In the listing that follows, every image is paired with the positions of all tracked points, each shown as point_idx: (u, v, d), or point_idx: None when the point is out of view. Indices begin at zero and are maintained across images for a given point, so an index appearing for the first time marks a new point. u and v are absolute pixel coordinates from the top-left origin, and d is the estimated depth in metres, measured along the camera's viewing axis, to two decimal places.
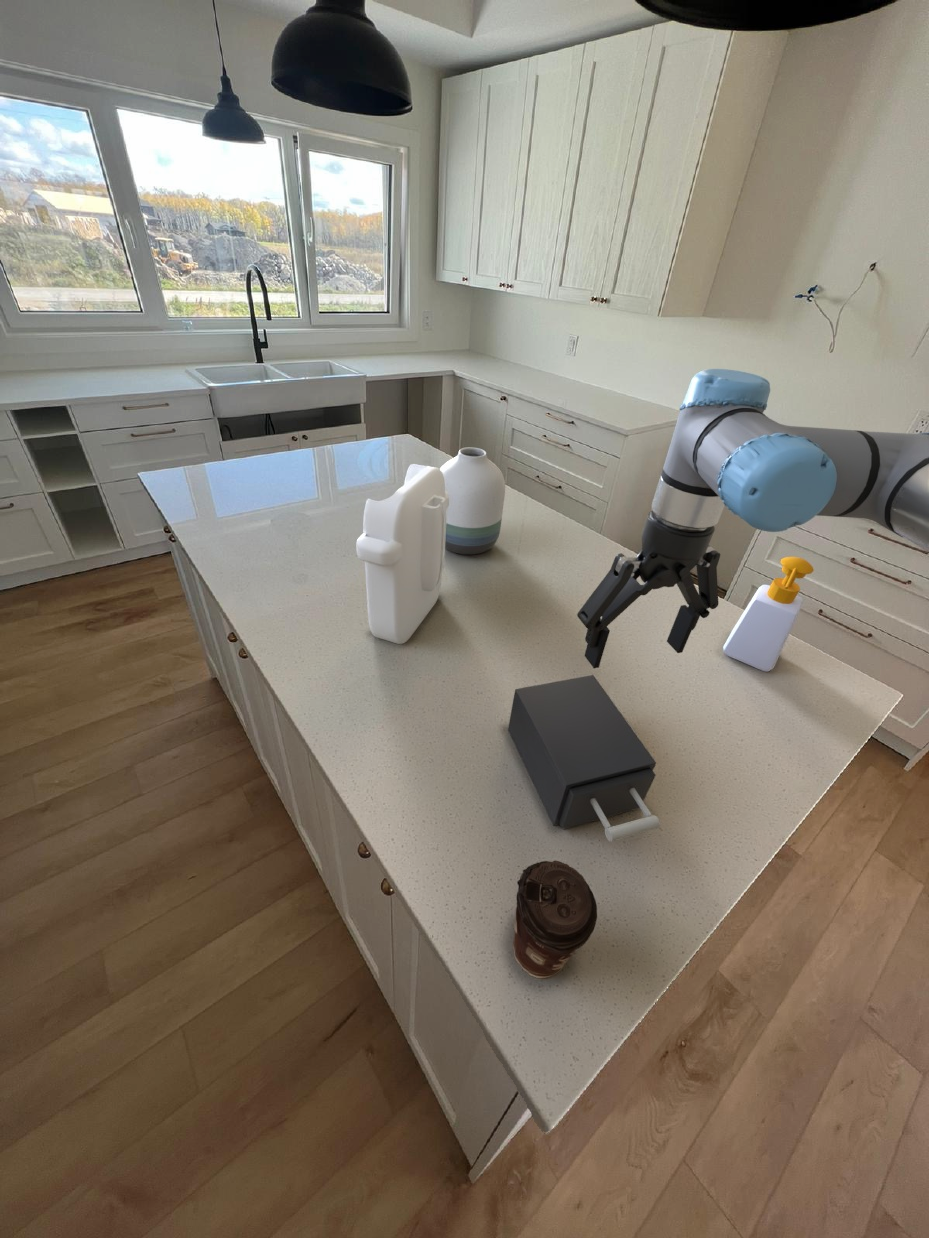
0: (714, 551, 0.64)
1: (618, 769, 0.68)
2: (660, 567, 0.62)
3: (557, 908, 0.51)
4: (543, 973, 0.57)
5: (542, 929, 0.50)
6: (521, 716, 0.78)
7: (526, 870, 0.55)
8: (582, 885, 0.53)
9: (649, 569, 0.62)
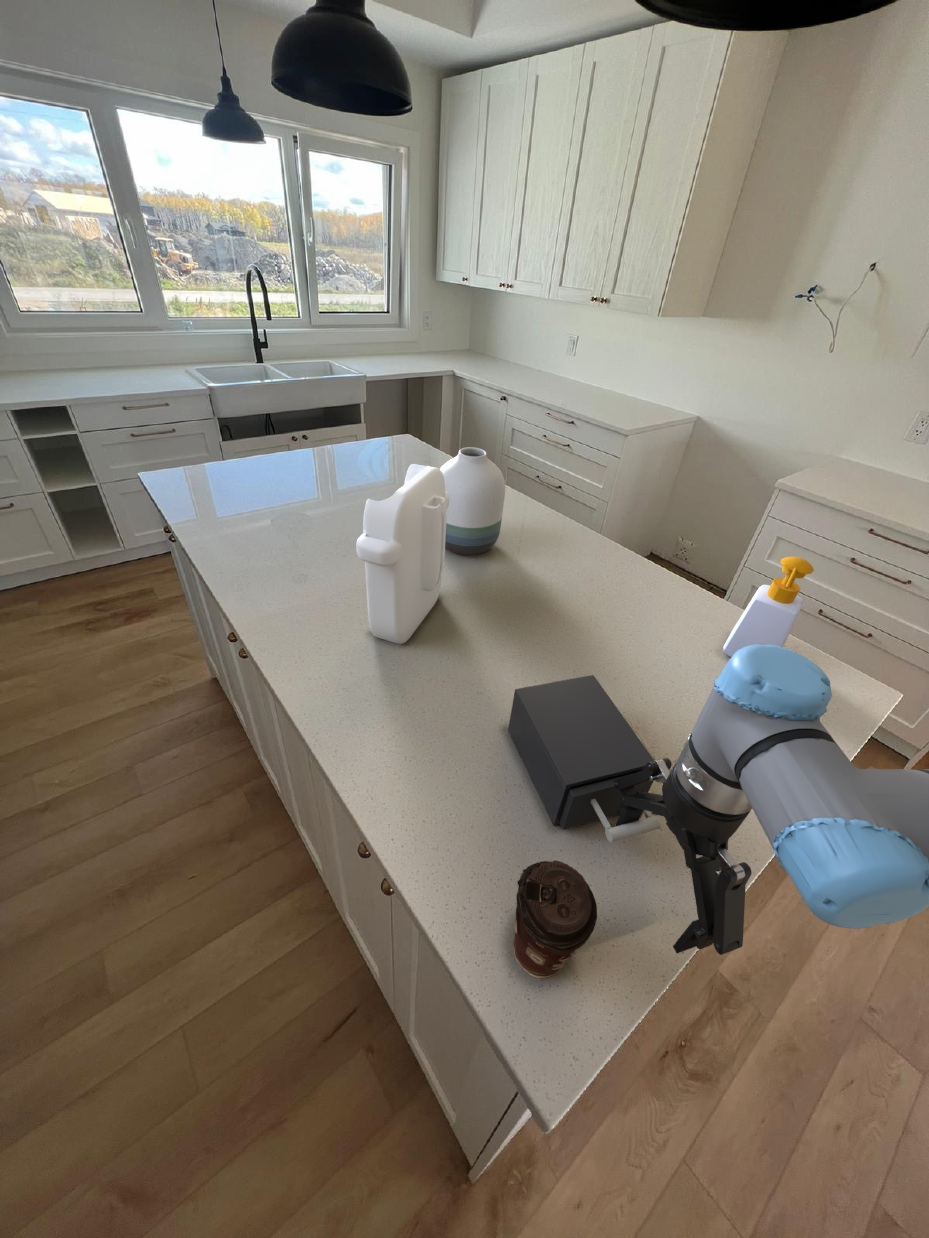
0: (666, 761, 0.57)
1: (618, 769, 0.68)
2: None
3: (557, 908, 0.51)
4: (543, 973, 0.57)
5: (542, 929, 0.50)
6: (521, 716, 0.78)
7: (526, 870, 0.55)
8: (582, 885, 0.53)
9: None
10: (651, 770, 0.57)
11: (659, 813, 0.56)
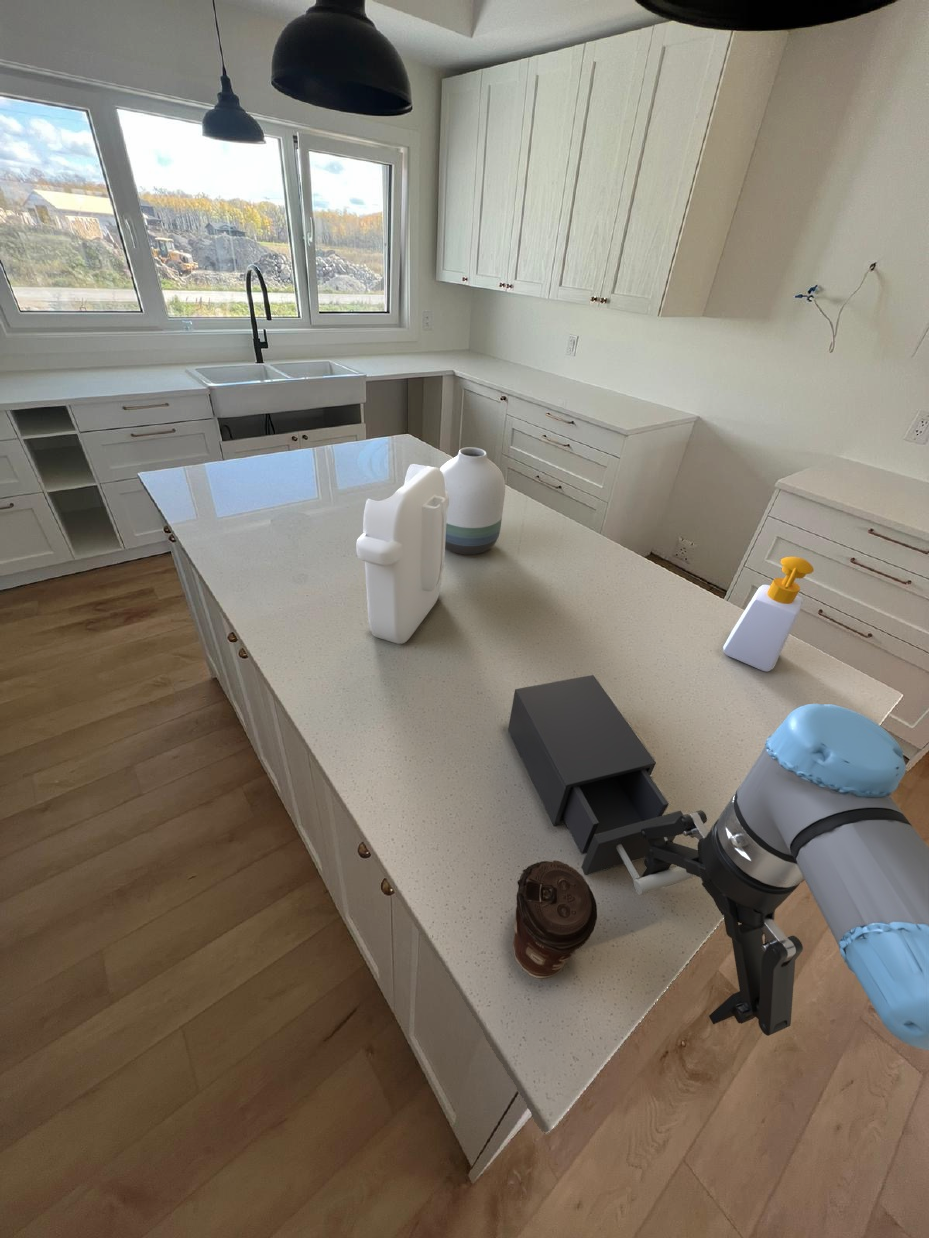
0: (701, 815, 0.53)
1: (618, 769, 0.68)
2: None
3: (557, 908, 0.51)
4: (543, 973, 0.57)
5: (542, 929, 0.50)
6: (521, 716, 0.78)
7: (526, 870, 0.55)
8: (582, 885, 0.53)
9: None
10: (685, 825, 0.53)
11: (694, 873, 0.52)
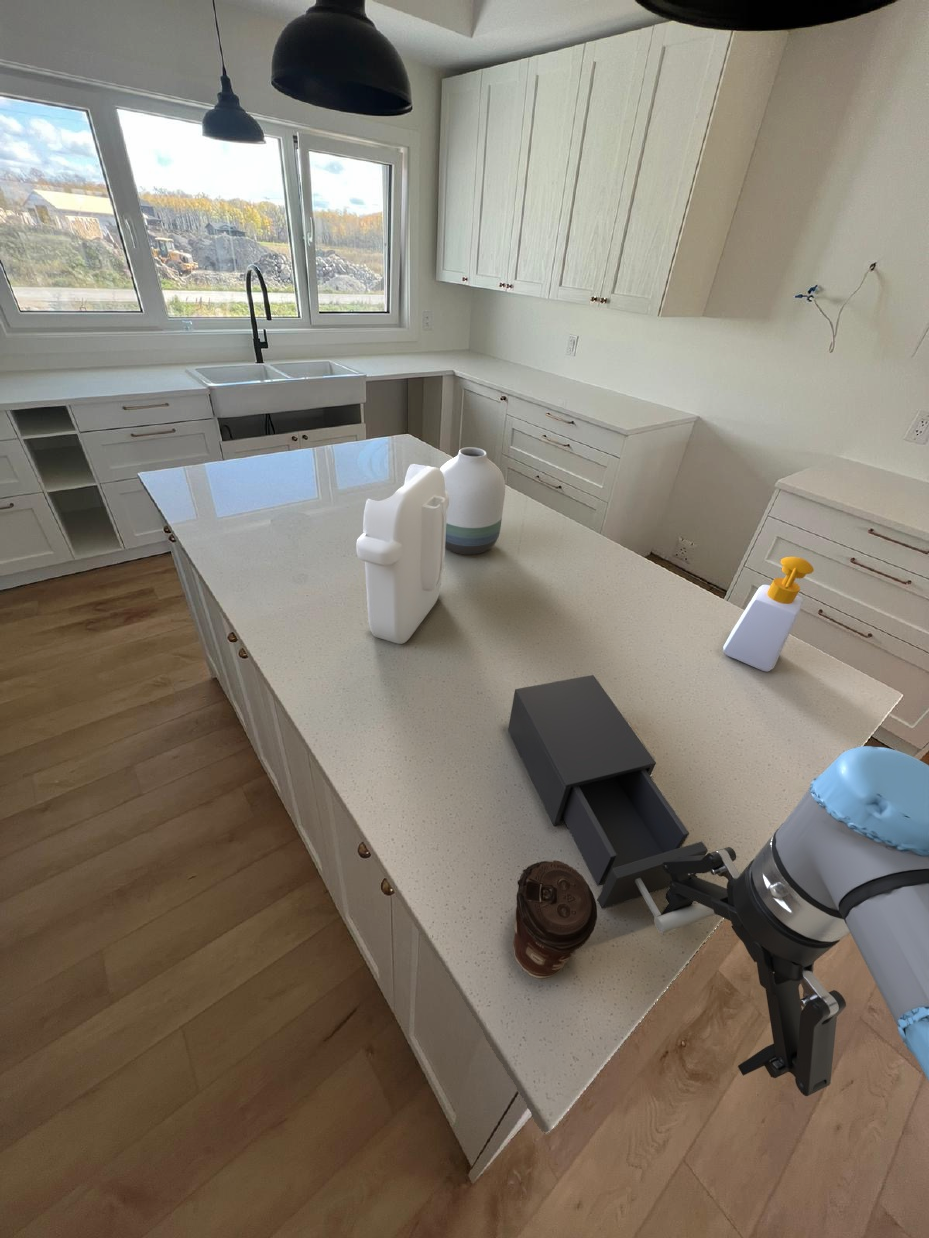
0: (730, 852, 0.50)
1: (618, 769, 0.68)
2: None
3: (557, 908, 0.51)
4: (543, 973, 0.57)
5: (542, 929, 0.50)
6: (521, 716, 0.78)
7: (526, 870, 0.55)
8: (582, 885, 0.53)
9: None
10: (713, 863, 0.49)
11: (724, 915, 0.48)
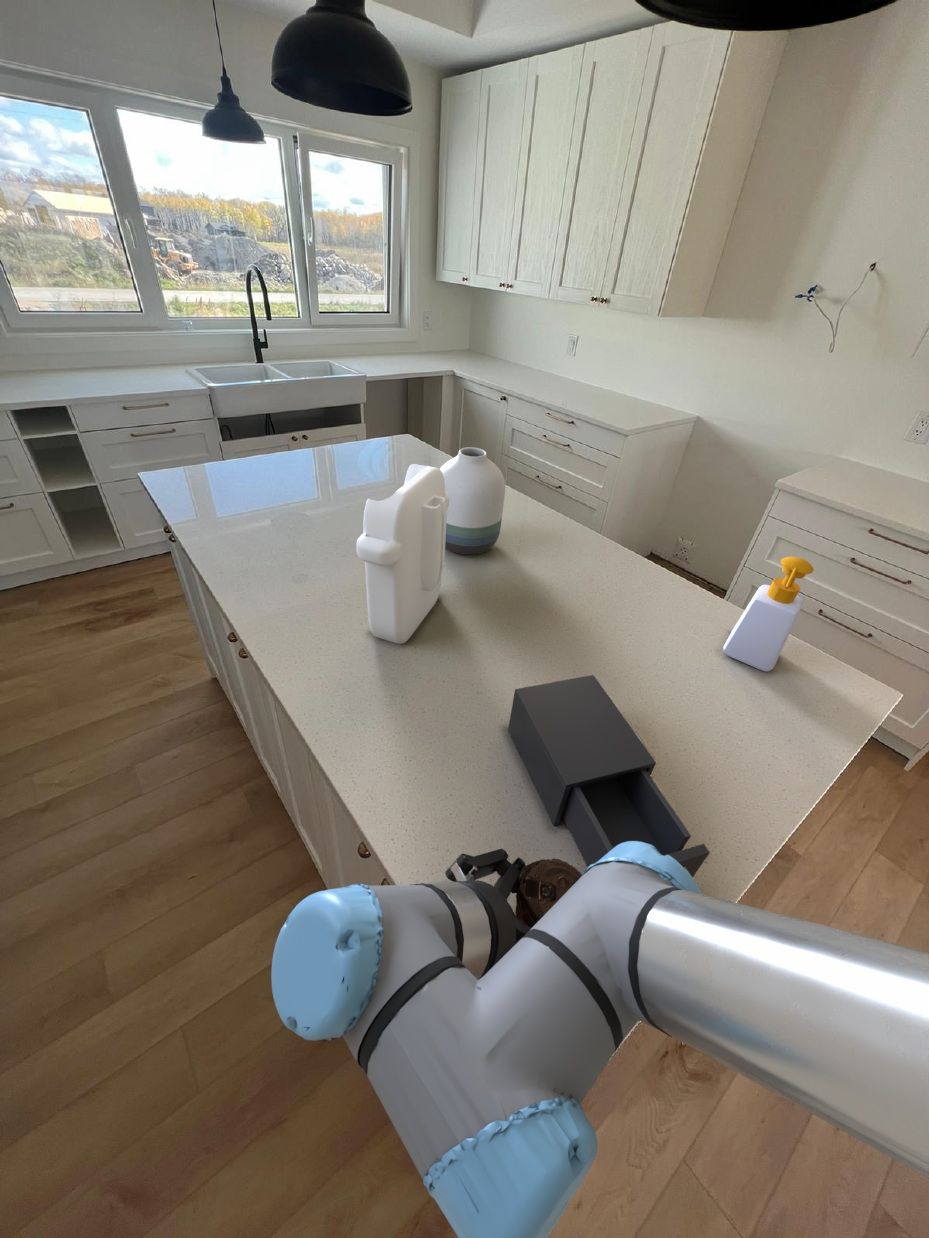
0: (459, 861, 0.49)
1: (618, 769, 0.68)
2: None
3: None
4: None
5: None
6: (521, 716, 0.78)
7: (525, 868, 0.55)
8: None
9: None
10: (451, 879, 0.50)
11: None
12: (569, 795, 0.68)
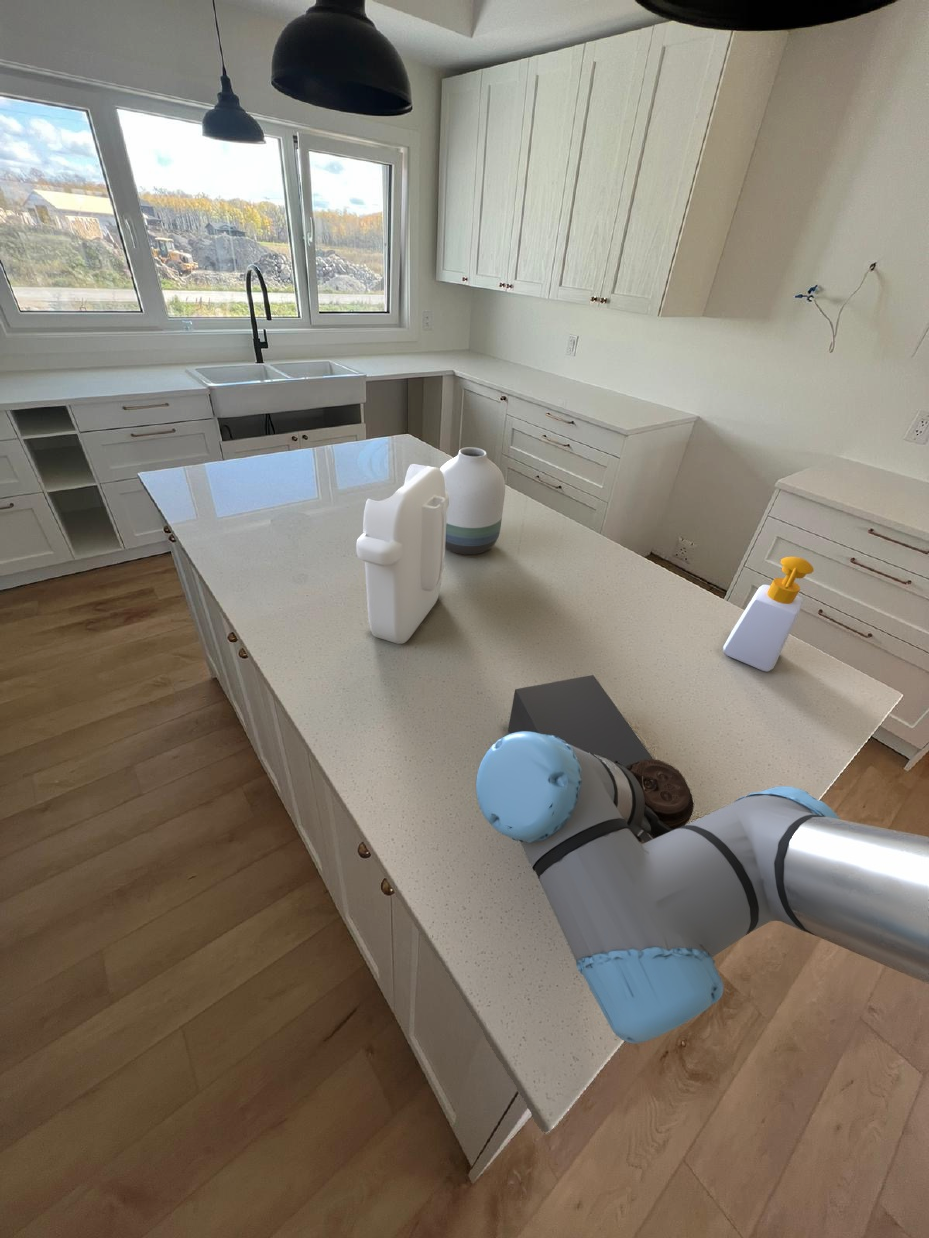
0: None
1: None
2: None
3: (660, 794, 0.57)
4: None
5: None
6: (521, 716, 0.78)
7: (626, 768, 0.61)
8: (679, 777, 0.59)
9: (645, 820, 0.50)
10: None
11: None
12: None
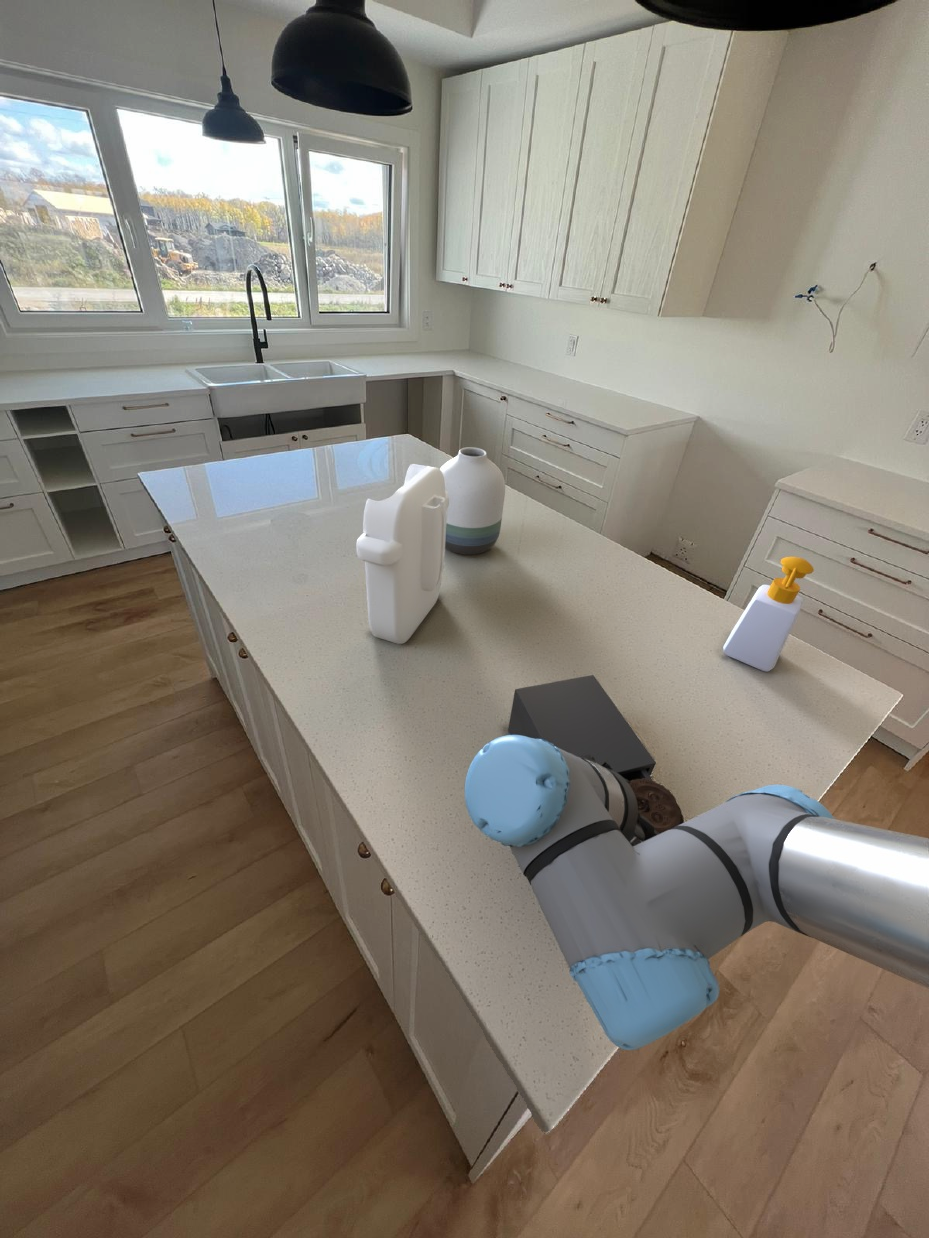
0: None
1: (618, 769, 0.68)
2: None
3: (651, 815, 0.57)
4: None
5: None
6: (521, 716, 0.78)
7: None
8: (670, 797, 0.59)
9: (639, 827, 0.49)
10: None
11: None
12: None
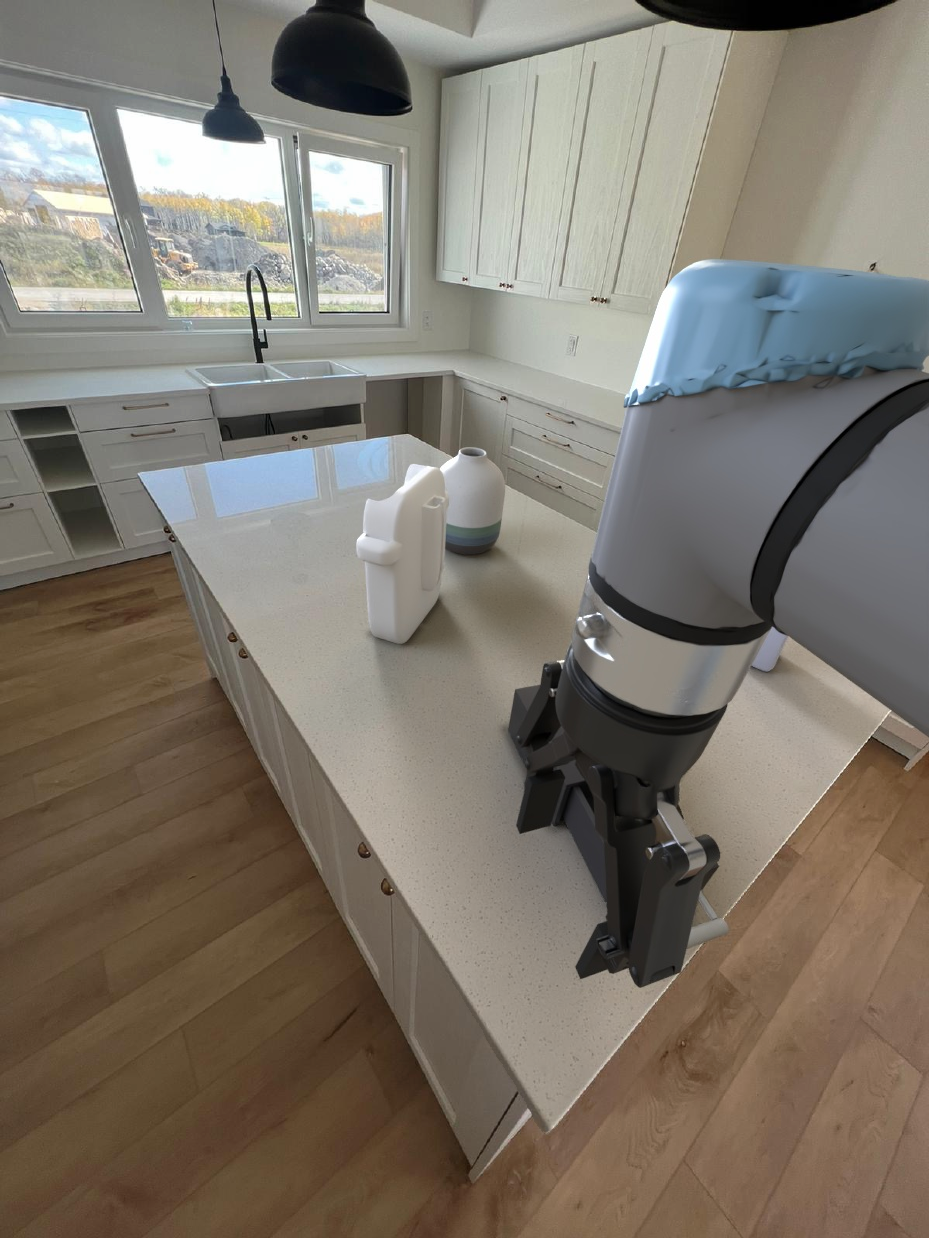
0: None
1: None
2: None
3: None
4: None
5: None
6: (521, 716, 0.78)
7: None
8: None
9: None
10: (549, 675, 0.32)
11: (564, 752, 0.30)
12: (575, 806, 0.67)
